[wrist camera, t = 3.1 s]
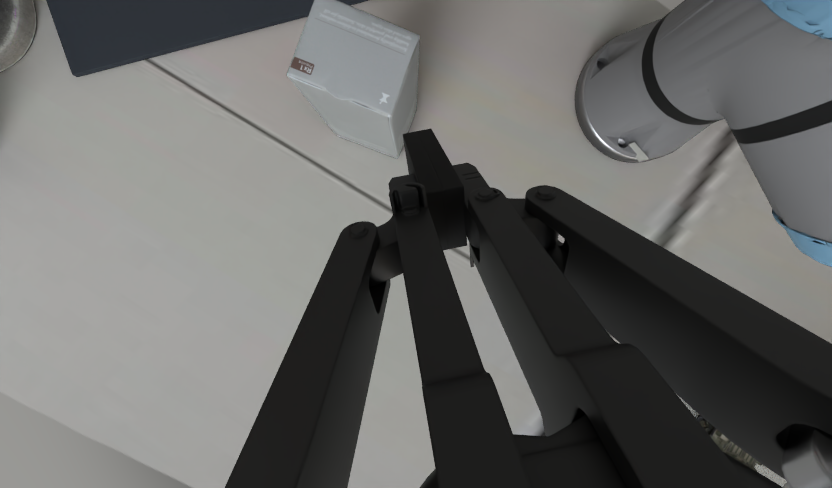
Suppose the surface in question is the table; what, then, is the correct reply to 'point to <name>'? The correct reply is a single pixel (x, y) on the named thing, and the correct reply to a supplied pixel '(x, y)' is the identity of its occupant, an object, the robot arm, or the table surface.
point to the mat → (158, 26)
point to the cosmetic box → (358, 74)
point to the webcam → (15, 30)
